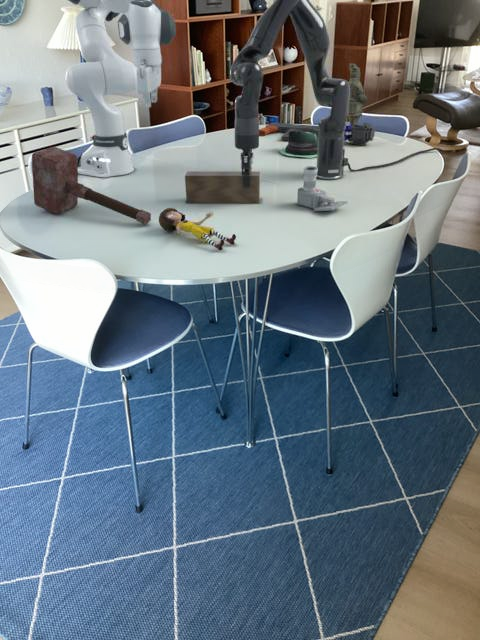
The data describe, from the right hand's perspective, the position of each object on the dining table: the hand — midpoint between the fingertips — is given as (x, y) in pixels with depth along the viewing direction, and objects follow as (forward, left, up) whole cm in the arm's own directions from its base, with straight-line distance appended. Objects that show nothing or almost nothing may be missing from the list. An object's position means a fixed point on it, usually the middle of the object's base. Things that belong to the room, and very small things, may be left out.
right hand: (247, 183), depth 179 cm
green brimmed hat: (-60, -31, -6) cm, 67 cm away
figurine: (+32, +14, -6) cm, 36 cm away
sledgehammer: (+44, -22, -6) cm, 49 cm away
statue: (-107, -43, -6) cm, 115 cm away
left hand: (+12, -34, +22) cm, 42 cm away
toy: (-87, -25, -6) cm, 90 cm away
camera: (-11, +21, -6) cm, 25 cm away
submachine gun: (-79, -58, -6) cm, 98 cm away
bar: (+5, -6, -6) cm, 10 cm away
